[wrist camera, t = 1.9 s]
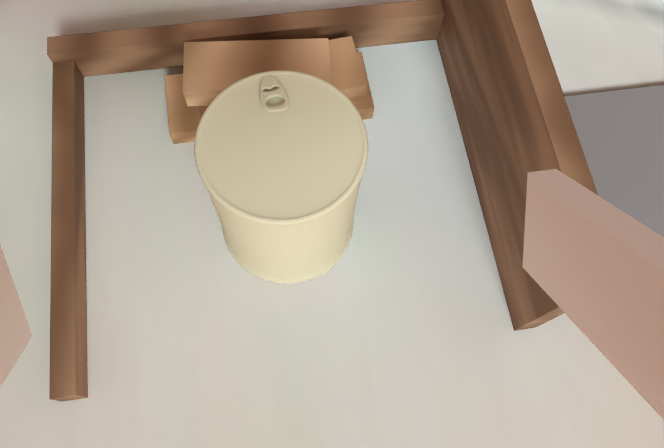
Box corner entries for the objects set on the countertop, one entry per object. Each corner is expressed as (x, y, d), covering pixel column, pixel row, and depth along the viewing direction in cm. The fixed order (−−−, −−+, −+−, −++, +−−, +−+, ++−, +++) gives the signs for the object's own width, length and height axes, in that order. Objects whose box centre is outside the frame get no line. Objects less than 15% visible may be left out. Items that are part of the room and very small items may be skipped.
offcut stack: (175, 147, 43) (157, 108, 38) (169, 86, 45) (152, 42, 40) (371, 121, 45) (380, 80, 40) (359, 64, 46) (365, 18, 41)
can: (336, 152, 43) (347, 50, 32) (366, 268, 40) (390, 201, 29) (213, 175, 42) (179, 78, 31) (234, 296, 39) (205, 238, 28)
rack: (62, 401, 36) (-47, 383, 25) (63, 62, 45) (-18, -64, 34) (535, 327, 39) (628, 281, 28) (450, 22, 48) (494, -107, 37)
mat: (578, 276, 40) (582, 274, 40) (524, 105, 45) (526, 100, 45) (761, 249, 42) (768, 246, 41) (690, 85, 47) (695, 81, 46)
